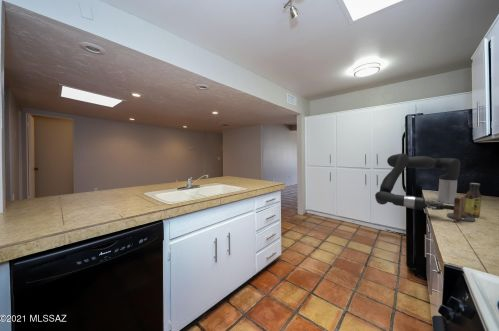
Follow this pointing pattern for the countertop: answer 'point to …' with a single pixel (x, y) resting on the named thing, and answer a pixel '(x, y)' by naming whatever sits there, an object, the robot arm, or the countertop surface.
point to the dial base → (462, 218)
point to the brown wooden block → (459, 207)
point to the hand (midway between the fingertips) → (454, 208)
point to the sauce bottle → (473, 201)
